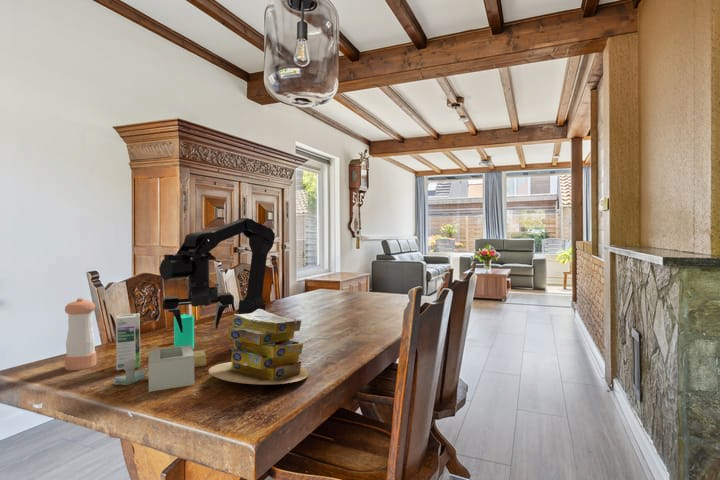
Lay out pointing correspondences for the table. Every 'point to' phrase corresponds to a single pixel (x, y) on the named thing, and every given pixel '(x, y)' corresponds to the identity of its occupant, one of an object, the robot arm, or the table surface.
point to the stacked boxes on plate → (262, 350)
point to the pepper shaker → (80, 336)
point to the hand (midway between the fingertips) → (199, 330)
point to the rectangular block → (199, 358)
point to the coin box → (171, 367)
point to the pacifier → (129, 374)
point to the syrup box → (127, 339)
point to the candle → (184, 331)
